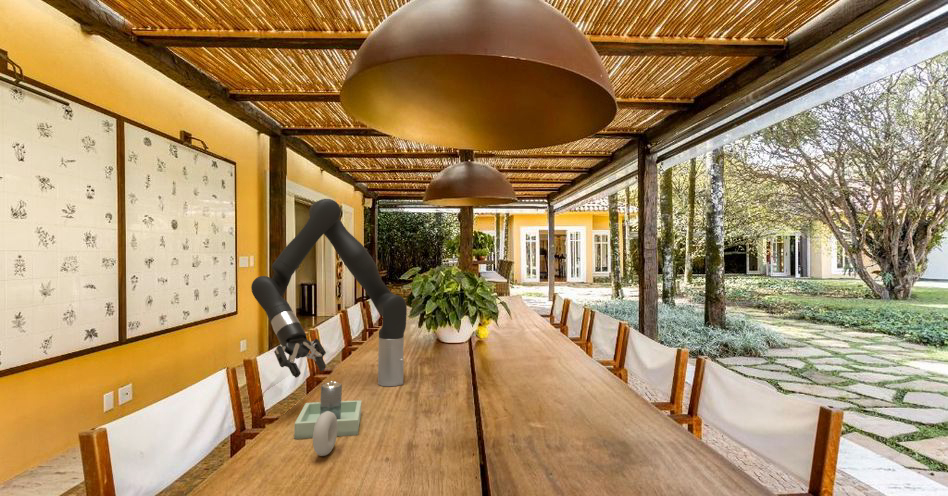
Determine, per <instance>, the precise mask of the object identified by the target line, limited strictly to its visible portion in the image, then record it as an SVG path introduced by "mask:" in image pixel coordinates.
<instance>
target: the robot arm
mask: <svg viewBox="0 0 948 496" xmlns="http://www.w3.org/2000/svg"><path fill="white" fill-rule="evenodd" d="M341 213H342V211H341V207H340V205H339V202H337V201H335V200H334V199H330V198H322V199H319V200H316V201H315V202H313V203H312V204H311V205H310V208H309V210H308V214H309V218H308V220H307V222H306V223H305V225H304V226H303V227H302V229H301V230H300V231H299V232H298V233H297V234H296V236H295V237H294V238H293V239H292V240H291V241H289V242H288V244H287V245H286V246H285V247H284V249H283V250H282V251H281V253H280V254H279V255H278V256H277V257H276V259H275V261H274V262H273V263H272V264H271V269H272V271H273V275H272V277H269V276H266V275H260V276H258V277H256V278H255V279H253V281H252V283H251V287H250V288H251V293H252V295H253V297H254V299H255V300H256V301H257V303H258V304H259V306H260V307H261V308H262V309H263V310H264V312H265V314H266V315H267V318H268V320H269V322H270V324H271V327H272V329H273V332H274V333H275V335H276V337H277V339H278V342H279V344H278V346H277V347H276V348H275V350H274V351H273V352H274V354H275V357H276V360H277V362H278V364H279V366H280V367H281V368H284V367H286V368H288V369H289V371H290V373H291V375H292V376H293V377H294V378H295V379H296V378H299V377H300V375H301V371H300V368H299V366H298V365H297V362H295V361H296V359H297V360H298V359H300V358H307V359H312V360H313V361H315V365H316V366H317V368H318V370H319V371H320V372H323V371H324V370H325V369H326V366H327V364H326V363H325V361H324V356H325V355H326V353H327V352H326V350H325V348H324V347H323V346H322V345H323V344H321V342H320V340H319V339H318V338H314V339H313V340H312V341H310V340H308V338H307V333H306V332H305V329H304V327H303V326H302V324H301V322H300V320H299V318H298V317H297V315H296V314H295V313H294V310H293V309H292V307H291V306H290V304H289V303H288V301H287V300H286V299H284V297H283V296H284V295H285V292H286V291H287V289H288V286H289V285H290V282H291V279H292V276H293V274H294V273H295V272H296V270H297V269H298V268H299V267H300V265H301V264H302V263H303V261H305V258H306V257H307V255H308V254H309V252H310V251H312V249H313V247H314V246H315V244H316V243H317V242H318V241H319V240H320V239H321V237H322V236H323V235H324V236H325V237H326V238H327V240H328V241H329V242H330V244H331V246H332V247H333V249H334V250H335V252H336V253H337V255H338V256H339V258H340V259H341V261H342V262H343V264H344V265H345V267H346V268H347V270H348V271H349V273H350V274H351V275H352V276H353V277H354V279H355V280H356V281H357V282H358V284H359V285H360V286H361V287H362V288H363V290H364V291H365V292H366V294H367V295H368V297H369V298H370V300H371V302H372V304H373V306H374V307H375V309H376V311H377V312H378V314H379V315H380V316H382V325H381V328H380V329H379V330H378V360H377V361H378V363H377V365H378V366H377V385H379V386H381V387H396V386H397V387H398V386H400V385H401V386H402V385H404V360H405V359H404V343H405V342H404V340H405V338H404V337H405V331H406V328H407V317H408V316H407V314H408V313H407V312H408V311H407V306H408V305H407V302H406V300H405V299H404V297H403V296H401V295H399V294H394V293H393V292H392V291H391V290H390V289H389V288H388V286H387V285H386V283H384V281H383V280H382V277H381V275H380V272H379V269H378V267H377V264H376V262H375V260H374V259H373V256H371V254H370V253H369V252H368V250H367V249H366V248H365V246H364V245H363V244H362V243H361V242H360V241H359V240H358V239H357V238H356V237H355V236H354V235H353V234H351V233H350V231H348V229H347V228H346V227H345V226H344V224H343V222H342V221H341V219H340V218H341ZM310 352H311V353H310ZM286 354H288V357H287V356H286Z"/></svg>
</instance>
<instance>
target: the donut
mask: <svg viewBox="0 0 948 496" xmlns="http://www.w3.org/2000/svg"><path fill="white" fill-rule="evenodd" d="M337 431H338V423H337V418H336V416H335V414H334V413H332V412H330V411H326V412H324V413H322V414H321V415H320V416H319V418H318V419H317V422H316V424H315V427H314V432H313V438H312V446H313V450H314V452H315V453H316V455H318V456H321V457H326V456H327V455H329V454H330V453H331V452H332V450H333V449H334V446H335V444H336V442H337V437H338V436H337Z"/></svg>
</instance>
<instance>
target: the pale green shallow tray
mask: <svg viewBox="0 0 948 496" xmlns="http://www.w3.org/2000/svg"><path fill="white" fill-rule="evenodd" d="M319 416H320V401H319V402H317V401H316V402H306V403H304V405H303V407H302V409H301V411H300V413H299V415H298V417H297V418H296V420H295V422H294V433H293V436H294V437H293V438H294V440H300V439H303V440H304V439H313V432H314V427H315V424H316V422H317V419H318V418H319ZM361 416H362V399H361V400H358V399H357V400H341V419H337V423H338V431H337V437H347V436H348V437H350V436H358V435H359V429H360V423H361Z"/></svg>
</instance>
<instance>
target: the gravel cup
mask: <svg viewBox="0 0 948 496" xmlns="http://www.w3.org/2000/svg"><path fill="white" fill-rule="evenodd" d="M342 391H343V384H342V383H340V382H338V381H335V380H329V382H328V381H327V382H326V383H323V384H321V385H320V401H319V402H320V415H321V414H322V413H324V412H326V411H330V412H332V413H334V414H335V416H336V418H337V419H341V401H342Z"/></svg>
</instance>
